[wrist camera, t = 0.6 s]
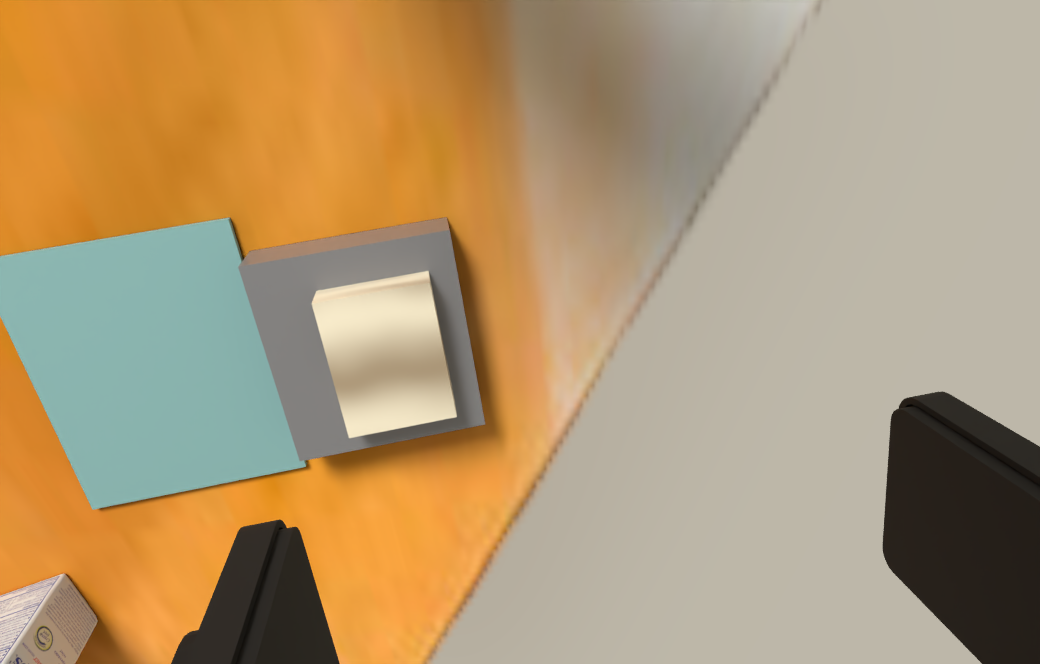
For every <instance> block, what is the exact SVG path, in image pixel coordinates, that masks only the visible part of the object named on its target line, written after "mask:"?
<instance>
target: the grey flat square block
mask: <svg viewBox="0 0 1040 664" xmlns="http://www.w3.org/2000/svg"><path fill="white" fill-rule="evenodd" d="M238 268H239V272H240V275H241V278H242V281H243V284H244V287H245V291H246V294H247V297H248V300H249V303H250V306H251V309H252V313H253V316H254V319H255V322H256V325H257V328H258V331H259V335H260V338H261V341H262V344H263V347H264V350H265V354H266V357H267V360H268V363H269V366H270V369H271V372H272V376H273V379H274V382H275V385H276V388H277V391H278V394H279V398H280V401H281V404H282V407H283V410H284V413H285V417H286V420H287V423H288V426H289V429H290V432H291V435H292V439H293V442H294V445H295V448H296V451H297V454H298V457H299V461H304V460H309V459H314V458H320V457H325V456H330V455H335V454H340V453H345V452H350V451H355V450H360V449H365V448H370V447H375V446H380V445H385V444H390V443H395V442H400V441H405V440H410V439H415V438H420V437H425V436H430V435H435V434H440V433H445V432H450V431H455V430H460V429H465V428H470V427H475V426H480V425H485V420H484V414H483V409H482V403H481V398H480V393H479V387H478V382H477V376H476V371H475V365H474V360H473V355H472V349H471V344H470V338H469V333H468V327H467V322H466V316H465V311H464V306H463V300H462V295H461V289H460V284H459V278H458V273H457V268H456V262H455V257H454V251H453V246H452V240H451V235H450V230H449V225H448V221H447V217H445V218H439V219H433V220H427V221H421V222H416V223H410V224H404V225H398V226H393V227H387V228H381V229H375V230H369V231H364V232H358V233H352V234H346V235H340V236H335V237H329V238H323V239H317V240H312V241H306V242H300V243H294V244H288V245H283V246H277V247H271V248H265V249H259V250H254V251H250V252H249V253H248V255H247V256H246V257H245V258H244V260H243V261H242V262H241V264H240V265H239V266H238ZM425 271H429V275H430V280H431V285H432V290H433V295H434V300H435V305H436V310H437V315H438V320H439V325H440V330H441V335H442V340H443V345H444V350H445V355H446V360H447V365H448V370H449V375H450V379H451V384H452V389H453V394H454V399H455V406H456V414H457V417H454V418H449V419H444V420H439V421H434V422H429V423H424V424H419V425H414V426H409V427H404V428H399V429H394V430H389V431H384V432H378V433H373V434H368V435H363V436H358V437H353V438H349V436H348V433H347V429H346V426H345V422H344V418H343V415H342V411H341V408H340V404H339V400H338V397H337V393H336V390H335V386H334V382H333V379H332V375H331V372H330V368H329V365H328V361H327V357H326V354H325V350H324V347H323V343H322V339H321V336H320V332H319V329H318V325H317V321H316V318H315V314H314V311H313V307H312V301H313V298H314V296H315V293H316V291H318V290H324V289H330V288H335V287H341V286H346V285H352V284H357V283H363V282H369V281H374V280H380V279H385V278H391V277H397V276H402V275H408V274H413V273H419V272H425Z"/></svg>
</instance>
